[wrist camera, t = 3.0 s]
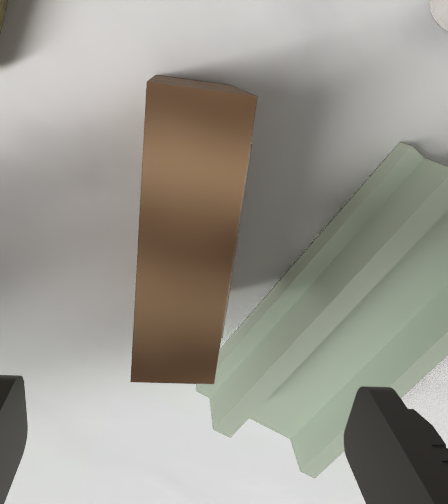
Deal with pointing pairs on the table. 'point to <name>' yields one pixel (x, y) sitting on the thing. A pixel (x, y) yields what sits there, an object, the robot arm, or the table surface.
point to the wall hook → (440, 12)
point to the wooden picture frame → (188, 225)
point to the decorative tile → (2, 11)
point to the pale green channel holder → (345, 315)
